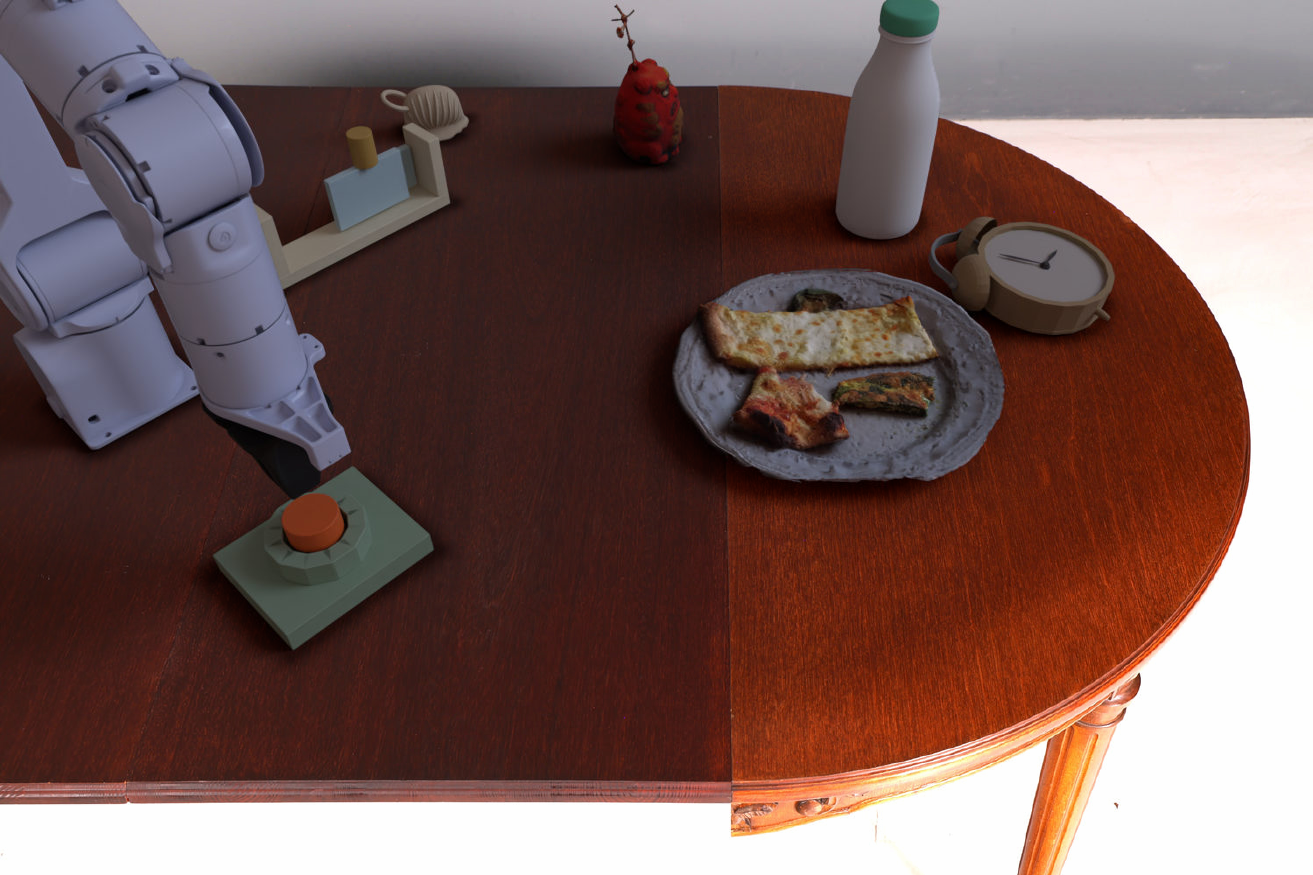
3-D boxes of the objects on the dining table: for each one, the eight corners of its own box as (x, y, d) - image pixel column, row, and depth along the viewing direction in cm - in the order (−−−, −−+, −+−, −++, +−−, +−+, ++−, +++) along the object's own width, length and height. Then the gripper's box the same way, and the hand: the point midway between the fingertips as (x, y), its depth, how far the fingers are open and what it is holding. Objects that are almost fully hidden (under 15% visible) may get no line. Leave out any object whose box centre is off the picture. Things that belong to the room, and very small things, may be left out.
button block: (293, 650, 66) (278, 618, 63) (220, 570, 70) (203, 537, 67) (434, 550, 71) (425, 517, 68) (357, 481, 75) (346, 448, 73)
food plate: (672, 499, 74) (672, 465, 71) (671, 293, 90) (671, 259, 87) (1027, 498, 73) (1040, 464, 71) (963, 291, 90) (971, 258, 87)
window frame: (282, 290, 91) (259, 222, 86) (258, 271, 93) (234, 203, 88) (450, 203, 100) (438, 137, 95) (425, 187, 102) (412, 122, 97)
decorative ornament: (472, 137, 108) (465, 89, 104) (391, 148, 107) (380, 100, 103) (468, 118, 111) (460, 70, 107) (388, 128, 110) (378, 80, 106)
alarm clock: (1119, 320, 82) (935, 263, 83) (1090, 364, 86) (914, 309, 87) (1117, 239, 90) (948, 187, 91) (1090, 283, 93) (928, 232, 94)
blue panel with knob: (345, 234, 94) (324, 155, 88) (332, 225, 95) (310, 146, 89) (414, 200, 98) (398, 122, 92) (400, 191, 99) (383, 113, 93)
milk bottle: (924, 242, 95) (969, 26, 80) (838, 242, 95) (868, 27, 80) (911, 194, 100) (951, -16, 86) (830, 194, 100) (856, -15, 86)
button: (308, 562, 66) (300, 545, 65) (277, 531, 68) (270, 514, 67) (355, 530, 68) (349, 513, 67) (324, 501, 70) (318, 484, 69)
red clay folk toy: (680, 171, 103) (680, 22, 93) (609, 169, 104) (602, 21, 93) (684, 131, 109) (685, -14, 98) (617, 129, 109) (611, -15, 98)
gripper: (373, 336, 53) (420, 508, 63) (227, 224, 60) (290, 394, 70) (251, 406, 50) (320, 576, 60) (111, 278, 57) (193, 449, 67)
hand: (297, 482), depth 65 cm, fingers closed
